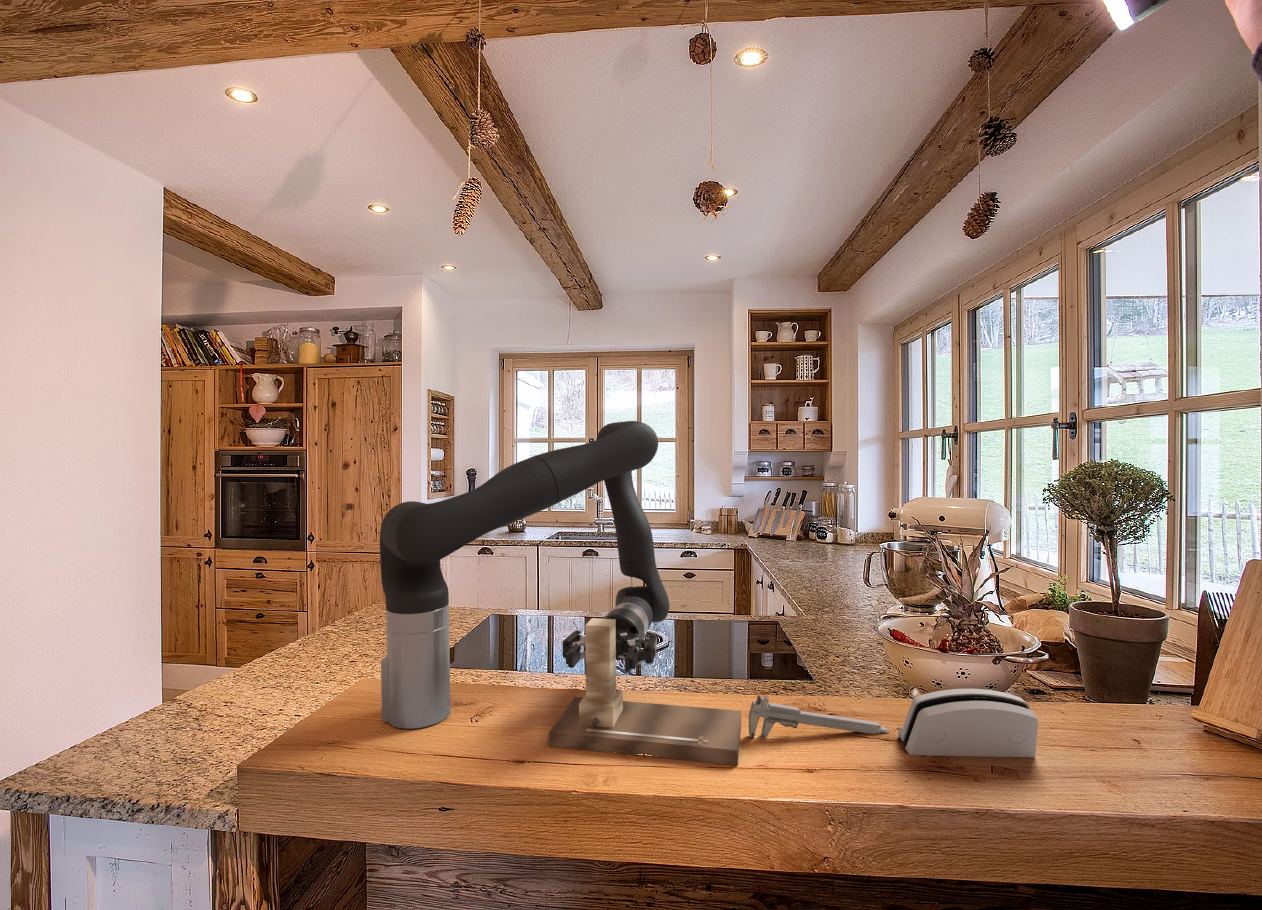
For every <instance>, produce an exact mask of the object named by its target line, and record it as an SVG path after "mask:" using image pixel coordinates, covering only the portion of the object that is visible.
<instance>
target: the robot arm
mask: <svg viewBox="0 0 1262 910" xmlns="http://www.w3.org/2000/svg"><path fill="white" fill-rule="evenodd" d="M658 447H659V438H658V435H657V433H656V432H655V430H654V429H653V428H652V427H651V426H650V425H649V424H647V423H645V422H642V421H637V420H628V421H617V422H610V423H607V424H605V425H604V426H603V427H601V428H600V430H599V431H598V433H597V435H596V440H594V441H591V442H587V443H583V444H579V445H574V446H568V447H562V448H558V449H554V450H550V451H546V452H542V453H540V454H536V455H533V456H531V457H528V458H526V459H523V460H520V461H518V462H515V463H513V464H511V465H508V466H507V467H505V468H504V469H502V470H500V471H499V472H497V473H495V474H494V475H493V476H492V477H490V478H489V479H488V480H487V481H485V482H484V483H483V484H481V485H479V486H478V487H476V488H475V489H473V490H470V491H468V492H464V493H463V494H459V495H455V496H453V497H450V498H446V499H443V500H440V501H435V502H432V503H431V502H429V503H426V502H425V503H424V502H420V501H413V500H412V501H411V500H410V501H403V502H401V503H397V504H396V505H394V506H393V507H391V509H389V511H388V512H387V513H386V514H385V515H384V517H383V519H382V521H381V525H380V529H379V530H380V531H379V555H380V560H379V561H380V579H381V586H382V590H383V593H384V599H385V628H386V630H385V631H386V633H385V634H386V656H384V657H383V658H381V660H380V683H381V684H380V687H381V689H380V690H381V722H385V723H388V724H389V725H390V726H392V727H394V728H397V729H398V728H399V729H404V730H405V729H407V730H408V729H420V728H426V727H430V726H434V725H435V724H439V723H440V722H442V721H444V720H445V719H446V718H448V716H450V714H451V700H452V699H451V666H450V665H451V663H450V662H451V660H450V659H451V657H450V655H451V654H450V645H451V644H450V603H449V602H450V601H449V599H450V596H449V594H450V593H449V586H448V584H447V582H446V580H445V578H444V575H443V572H442V567H441V560H444V558H446V557H448V556H450V555H451V554H453V553H455V552H456V551H458V550H460V549H461V548H463V547H465V546H466V545H468V544H470V543H472V542H474V541H475V540H477V539H479V538H480V537H482V536H484V535H486V534H488V533H490V532H493V531H494V530H497V529H500V528H503V527H506V526H508V525H509V526H510V525H511V524H513V523H516V522H518V521H520V520H523V519H525V518H528V517H530V516H532V515H534V514H538V513H539V512H542V511H544V510H547V509H548V508H551V507H553V506H555V505H557V504H559V503H561V502H563V501H565V500H567V499H569V498H571V497H574V496H576V495H577V494H579V493H582V492H583V491H586V490H588V489H589V488H592V487H593V486H595V485H597V484H599V483H600V482H602V481H603V483H604V486H605V490H606V493H607V497H608V498H607V499H608V502H609V506H610V508H611V509H610V510H611V513H612V517H613V524H614V529H615V534H616V542H617V543H616V544H617V552H618V561H619V562H618V563H619V569H620V573H622V575H624V576H626V577H629V578H634V579H639V580H641V581H642V582H643V584H645V585H642V586H641V585H640V586H638V585H637V586H626V587H623V588H620V589H619V590H618V591H617V593H616V596H615V606H614V607H613V608H612V609H611V610H610V611H609V612H608V613H606V615H605V616H604V618H603V619H616V661H624V672H625V673H631V671H632V670H635V669H636V668H637V667H638V665H641V663H642V662H645V664H647V665H652V664H654V661H655V658H656V656H657V650H658V648H657V647H658V646H657V645H658V642H657V640H658V639H657V638H658V637H657V635H655V634H652V635H649V636H648V637H647V633H648V630H649V628H650V627H651V624H652V623H661V622H663V621H665V619H667V618H668V615H669V612H670V606H671V605H670V599H669V596H668V594H667V592H666V589H665V586H664V584H663V582H662V579H661V577H660V574H659V571H658V568H657V562H656V556H655V545H654V539H653V538H654V537H653V533H652V529H651V526H650V522H649V519H648V517H647V515H646V513H645V511H644V509H643V507H642V505H641V503H640V500H639V499H638V495H637V493H636V489H635V487H634V481H633V474H632V473H633V471H636V470H639V469H643V468H644V467H646V466H647V465H649V463H651V462H652V461H653V459H654V457H656V454H657V451H658V449H659V448H658ZM561 643H562V658H563V659H564V658H565V664H566V665H567V668H569V669H574V668H575V667H576V666H577V664H578V663H579V662H580V661H581V660H582V659H583V660H584V659H586V640H585V635H582V631H581V630H574V631H573V632H571V633H570V634H569V635H568V636H567V637H565V638H564V639H563V640H562V642H561ZM582 649H583V651H582V652H581V650H582Z"/></svg>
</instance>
